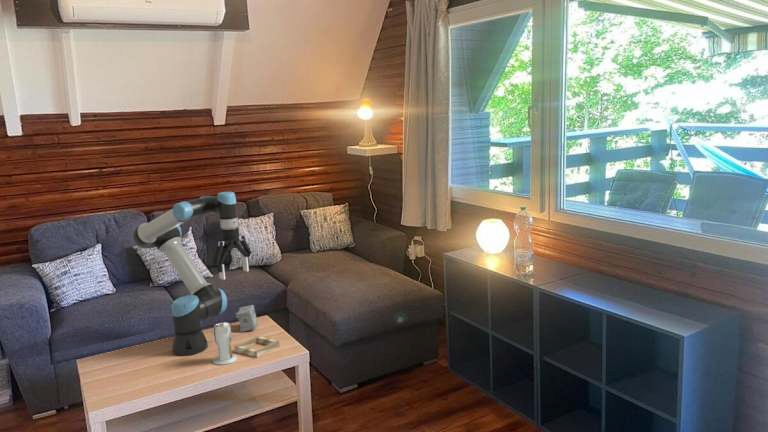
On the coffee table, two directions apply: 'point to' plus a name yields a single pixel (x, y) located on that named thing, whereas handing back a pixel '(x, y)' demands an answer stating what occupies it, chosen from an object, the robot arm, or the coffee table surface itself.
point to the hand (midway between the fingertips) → (234, 275)
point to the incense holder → (247, 318)
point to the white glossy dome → (224, 361)
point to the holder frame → (256, 353)
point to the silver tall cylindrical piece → (223, 341)
